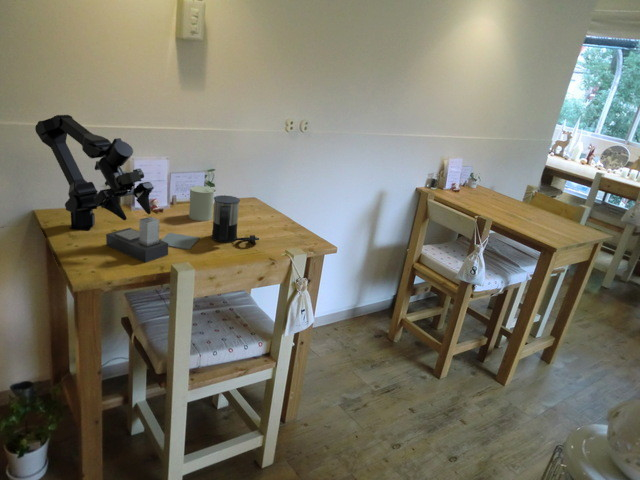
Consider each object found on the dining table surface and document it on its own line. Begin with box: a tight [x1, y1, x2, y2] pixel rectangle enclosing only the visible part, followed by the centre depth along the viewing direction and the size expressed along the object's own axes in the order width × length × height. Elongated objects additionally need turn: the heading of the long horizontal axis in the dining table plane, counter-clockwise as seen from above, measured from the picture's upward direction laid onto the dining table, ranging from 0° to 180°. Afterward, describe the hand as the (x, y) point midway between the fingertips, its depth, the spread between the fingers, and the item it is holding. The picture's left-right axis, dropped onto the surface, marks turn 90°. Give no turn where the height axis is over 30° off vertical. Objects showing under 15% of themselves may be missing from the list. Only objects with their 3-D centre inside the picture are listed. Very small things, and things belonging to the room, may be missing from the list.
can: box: [188, 185, 215, 222], centre depth 191 cm, size 9×9×12 cm
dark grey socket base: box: [105, 227, 169, 264], centre depth 155 cm, size 18×9×5 cm, turn 59°
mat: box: [160, 232, 200, 250], centre depth 167 cm, size 11×11×1 cm
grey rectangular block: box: [138, 216, 160, 248], centre depth 151 cm, size 4×4×10 cm
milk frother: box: [211, 194, 260, 243], centre depth 172 cm, size 14×16×15 cm
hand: (138, 216), depth 152 cm, fingers open, 9 cm apart
